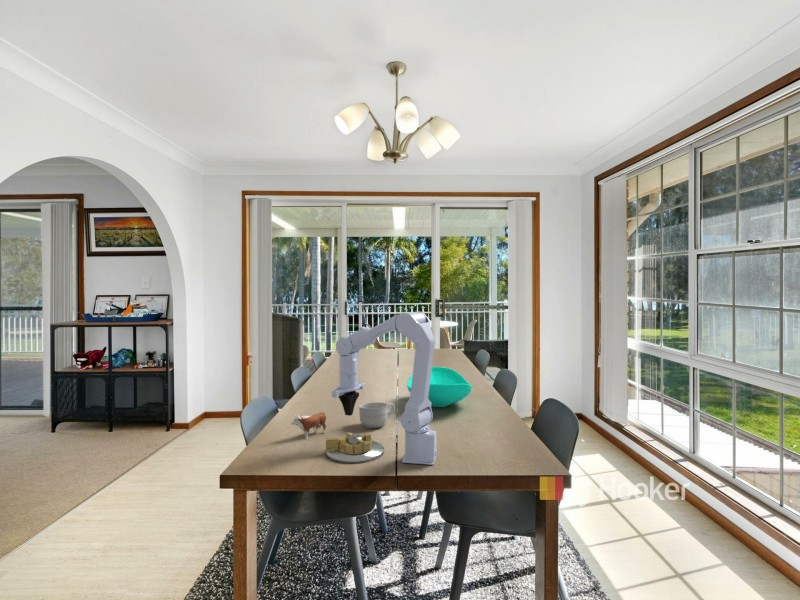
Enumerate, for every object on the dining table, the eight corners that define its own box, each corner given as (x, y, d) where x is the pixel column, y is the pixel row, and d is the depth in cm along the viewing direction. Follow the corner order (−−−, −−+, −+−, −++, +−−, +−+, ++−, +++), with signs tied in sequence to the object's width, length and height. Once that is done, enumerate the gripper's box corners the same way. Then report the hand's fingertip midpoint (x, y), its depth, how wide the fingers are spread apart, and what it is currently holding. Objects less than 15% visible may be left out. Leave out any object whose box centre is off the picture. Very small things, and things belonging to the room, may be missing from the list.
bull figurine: (289, 439, 157) (289, 415, 157) (322, 430, 166) (322, 407, 166) (296, 442, 154) (296, 418, 153) (329, 433, 163) (329, 410, 163)
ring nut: (335, 440, 151) (335, 429, 151) (375, 443, 148) (375, 433, 148) (322, 451, 141) (322, 440, 141) (365, 455, 138) (365, 443, 138)
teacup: (361, 431, 165) (361, 409, 164) (356, 422, 175) (356, 402, 175) (399, 428, 168) (399, 406, 168) (392, 419, 179) (392, 399, 178)
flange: (389, 444, 151) (389, 429, 151) (375, 465, 134) (375, 449, 133) (337, 440, 155) (337, 426, 155) (317, 460, 137) (317, 444, 137)
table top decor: (480, 417, 181) (480, 384, 180) (410, 419, 180) (410, 385, 179) (462, 393, 221) (462, 366, 220) (404, 394, 219) (404, 367, 219)
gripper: (352, 368, 158) (352, 408, 159) (324, 376, 146) (324, 418, 147) (369, 370, 155) (369, 410, 155) (341, 378, 142) (342, 421, 143)
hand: (348, 414), depth 151 cm, fingers closed
